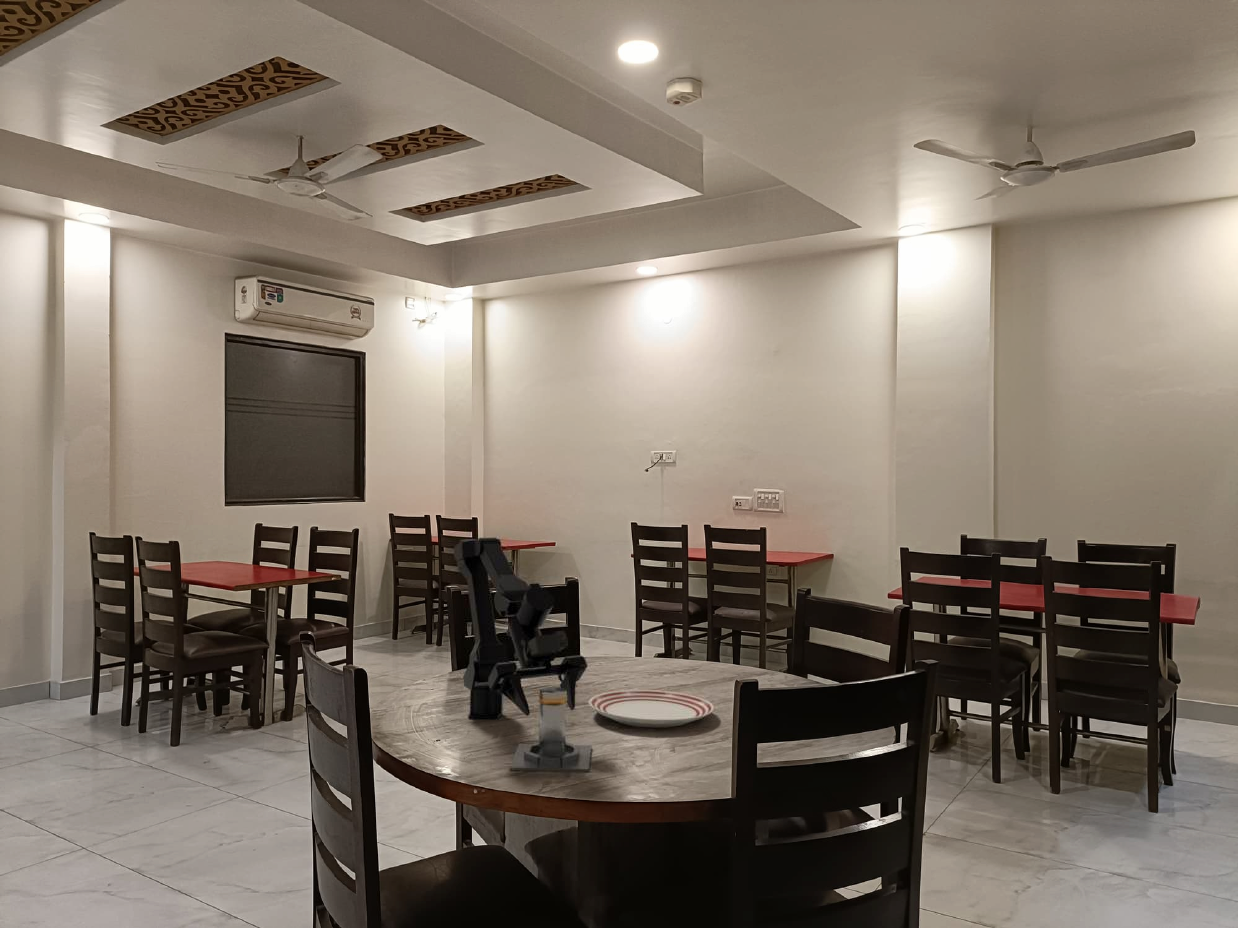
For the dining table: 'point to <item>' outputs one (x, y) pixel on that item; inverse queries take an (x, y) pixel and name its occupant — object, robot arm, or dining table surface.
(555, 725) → the grey cylindrical piece
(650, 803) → the dining table surface
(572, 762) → the flange
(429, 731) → the dining table surface
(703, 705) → the dinner plate
